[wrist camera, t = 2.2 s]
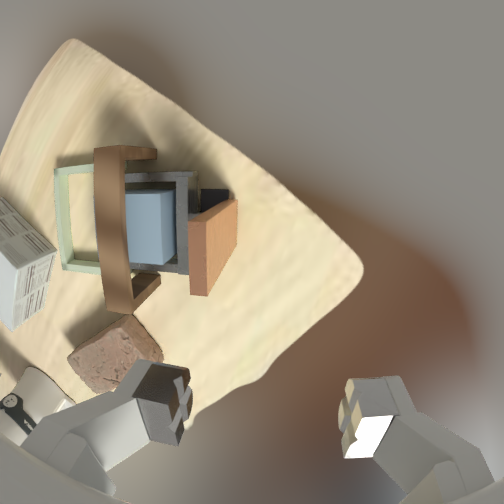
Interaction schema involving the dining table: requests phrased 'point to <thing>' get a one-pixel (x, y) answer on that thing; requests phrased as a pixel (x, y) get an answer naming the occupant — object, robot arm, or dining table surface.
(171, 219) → the block
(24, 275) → the supplement box
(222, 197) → the dark grey flat block
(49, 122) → the dining table surface
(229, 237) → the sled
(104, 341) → the brick
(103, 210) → the tunnel
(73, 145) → the dining table surface
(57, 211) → the green hollow frame
